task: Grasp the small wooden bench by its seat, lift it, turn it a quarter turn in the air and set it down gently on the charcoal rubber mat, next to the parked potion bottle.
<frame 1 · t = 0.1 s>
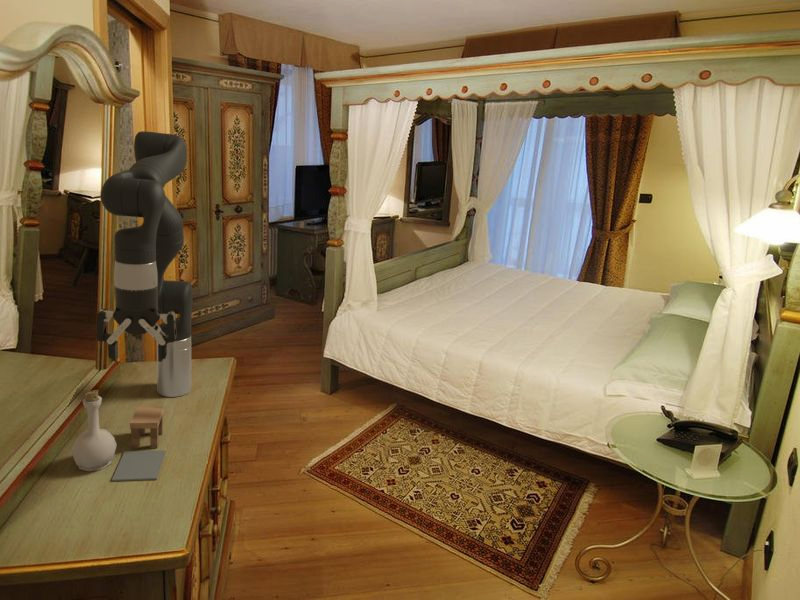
hand: (138, 360, 109), 29 cm above the dresser, fingers open, 8 cm apart
mat: (140, 465, 123), on the dresser
potion bottle: (95, 463, 122), on the dresser
small wooden bench: (147, 439, 133), on the dresser
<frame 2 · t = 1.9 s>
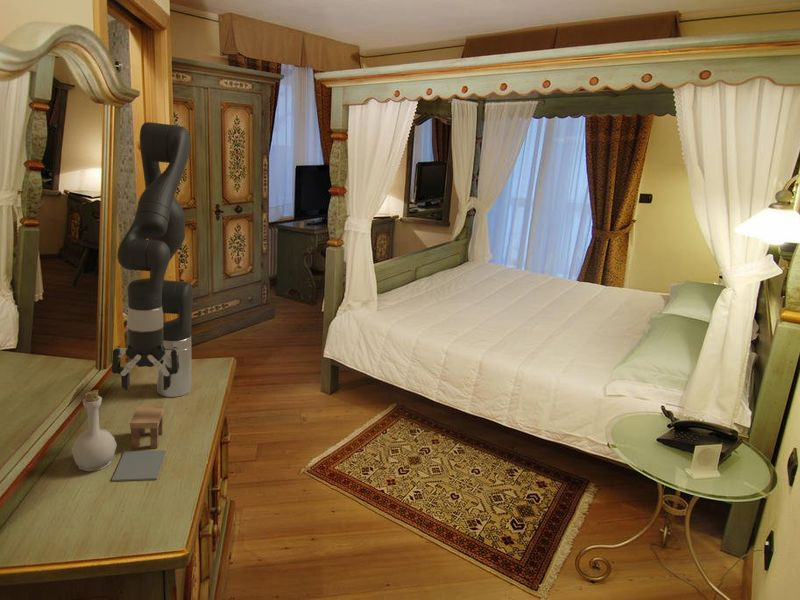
hand: (146, 388, 129), 14 cm above the dresser, fingers open, 8 cm apart
nothing on the dresser moved.
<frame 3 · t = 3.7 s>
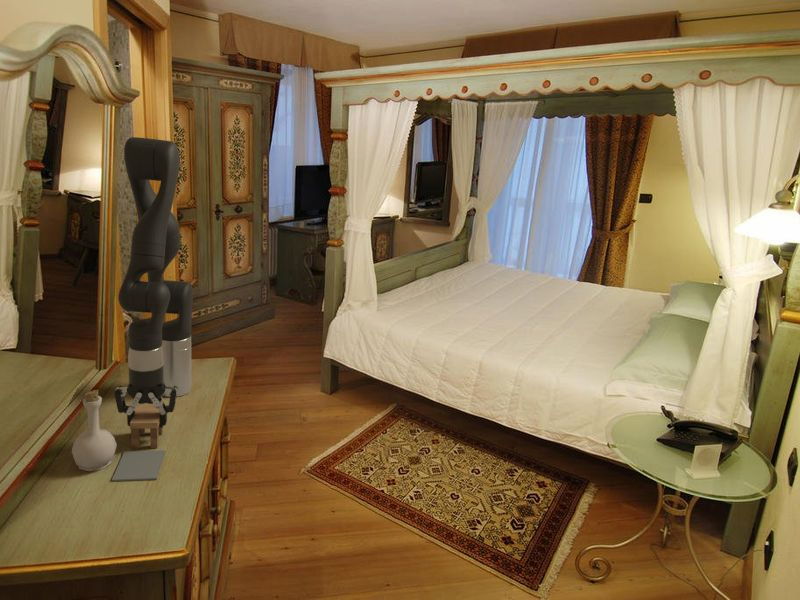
hand: (147, 426, 132), 4 cm above the dresser, fingers closed on small wooden bench, 6 cm apart
small wooden bench: (147, 439, 133), on the dresser, touching gripper
everything else where it was.
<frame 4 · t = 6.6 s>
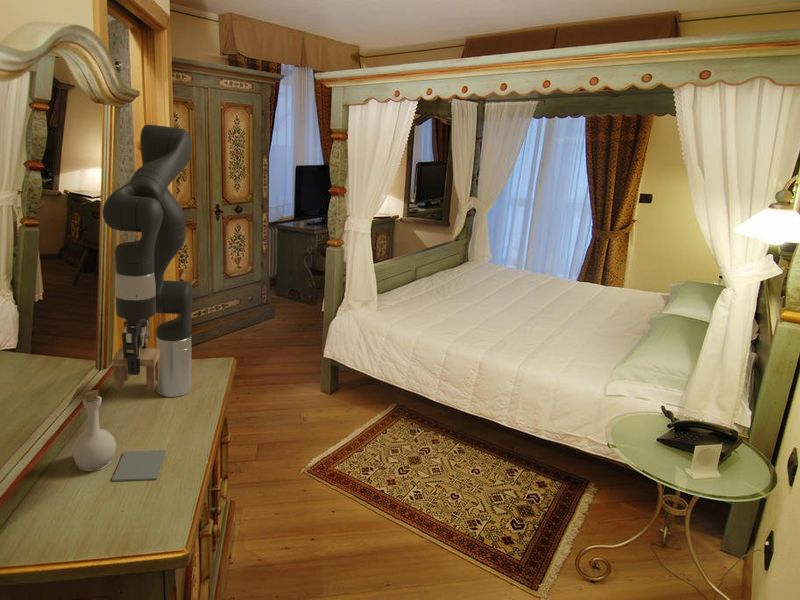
hand: (137, 367, 116), 24 cm above the dresser, fingers closed on small wooden bench, 6 cm apart
small wooden bench: (137, 383, 117), point 21 cm above the dresser, touching gripper
everything else where it was.
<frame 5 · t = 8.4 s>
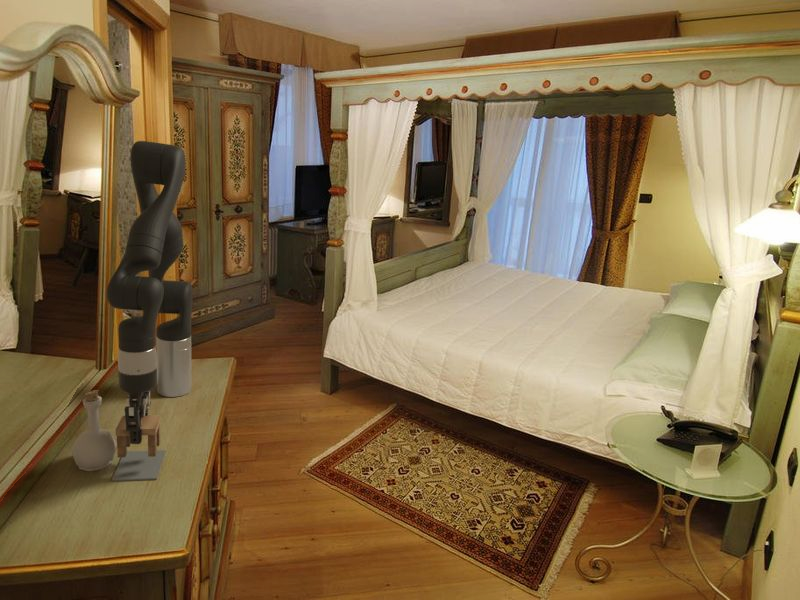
hand: (139, 434, 120), 8 cm above the dresser, fingers closed on small wooden bench, 6 cm apart
small wooden bench: (139, 449, 121), point 4 cm above the dresser, touching gripper
everything else where it was.
when the fingers open (5 cm above the dresser, at t = 9.8 s): small wooden bench stays where it is, resting on mat.
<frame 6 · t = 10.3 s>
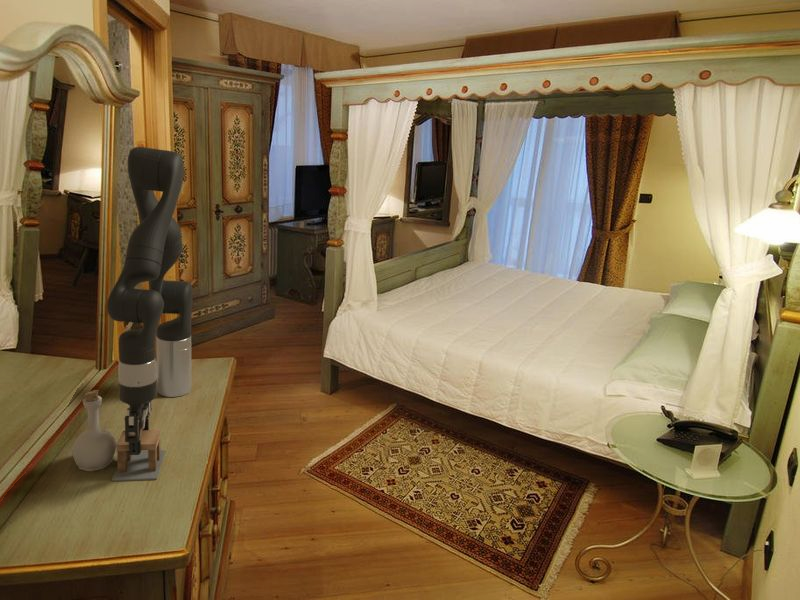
hand: (139, 443, 121), 6 cm above the dresser, fingers open, 8 cm apart
small wooden bench: (139, 464, 123), resting on mat
everything else where it was.
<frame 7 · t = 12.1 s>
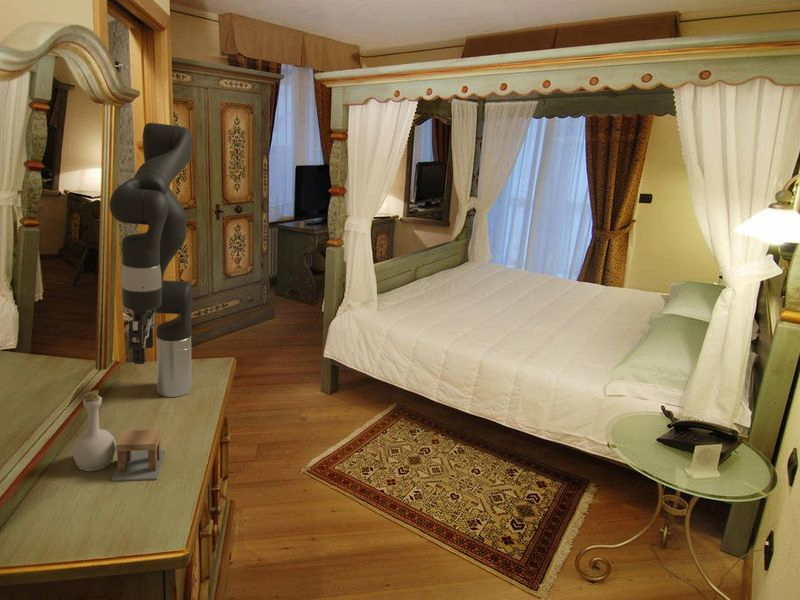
hand: (143, 355, 118), 26 cm above the dresser, fingers open, 8 cm apart
nothing on the dresser moved.
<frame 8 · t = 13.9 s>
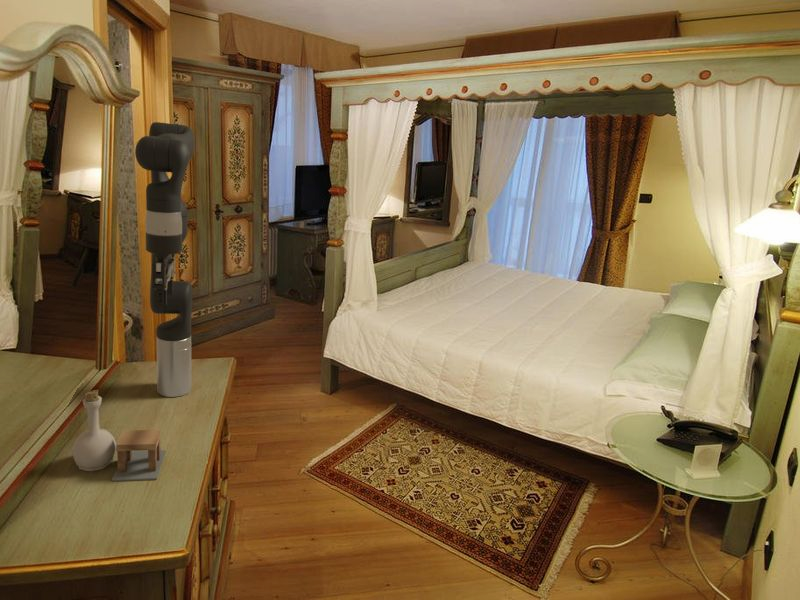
hand: (164, 299, 125), 36 cm above the dresser, fingers open, 8 cm apart
nothing on the dresser moved.
at the end: small wooden bench inside the target area on the mat (0.0 cm from its centre), point 0.4 cm above the mat's base; small wooden bench tilted 0°; the gripper is holding nothing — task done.
